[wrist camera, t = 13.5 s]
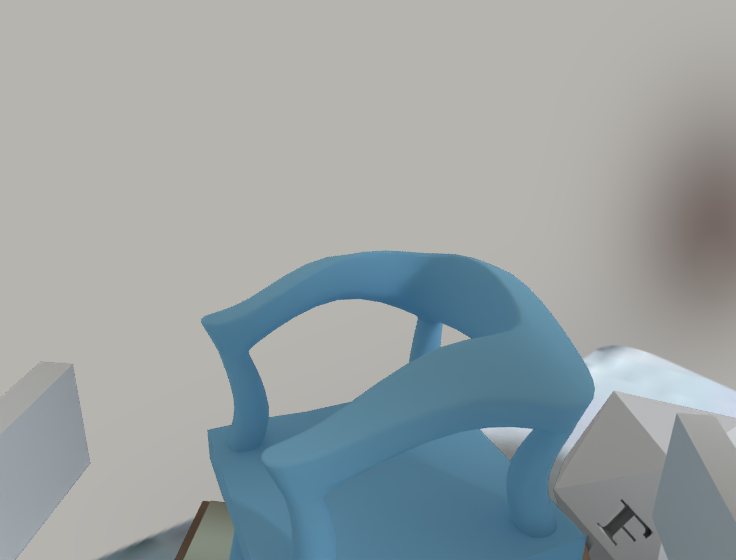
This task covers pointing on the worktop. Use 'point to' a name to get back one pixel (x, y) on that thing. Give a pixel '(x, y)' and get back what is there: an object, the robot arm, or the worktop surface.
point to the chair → (405, 423)
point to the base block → (219, 534)
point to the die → (622, 475)
